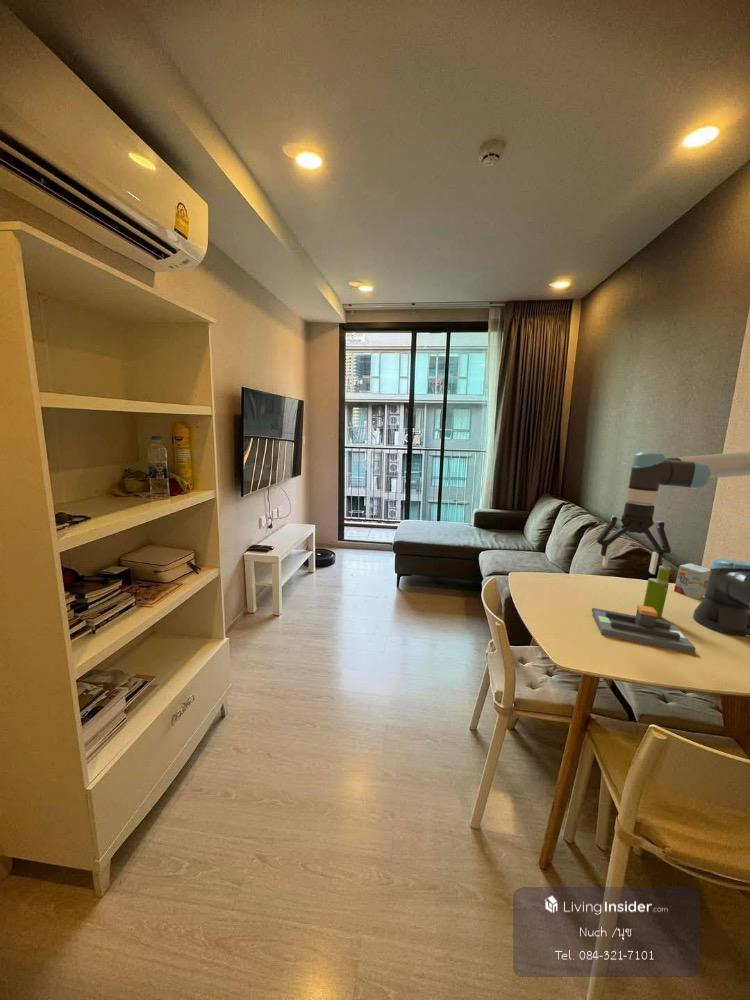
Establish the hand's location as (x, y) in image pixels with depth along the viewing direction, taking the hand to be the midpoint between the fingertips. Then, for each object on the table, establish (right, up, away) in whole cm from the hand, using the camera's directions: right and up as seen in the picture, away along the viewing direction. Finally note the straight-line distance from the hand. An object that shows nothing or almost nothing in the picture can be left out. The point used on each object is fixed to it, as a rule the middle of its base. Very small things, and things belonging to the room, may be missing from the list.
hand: (627, 569), depth 119 cm
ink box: (+51, -17, +37) cm, 65 cm away
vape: (+19, -19, +15) cm, 31 cm away
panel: (+5, -21, +1) cm, 21 cm away
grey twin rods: (+8, -19, +10) cm, 23 cm away
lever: (+6, -19, +1) cm, 19 cm away
